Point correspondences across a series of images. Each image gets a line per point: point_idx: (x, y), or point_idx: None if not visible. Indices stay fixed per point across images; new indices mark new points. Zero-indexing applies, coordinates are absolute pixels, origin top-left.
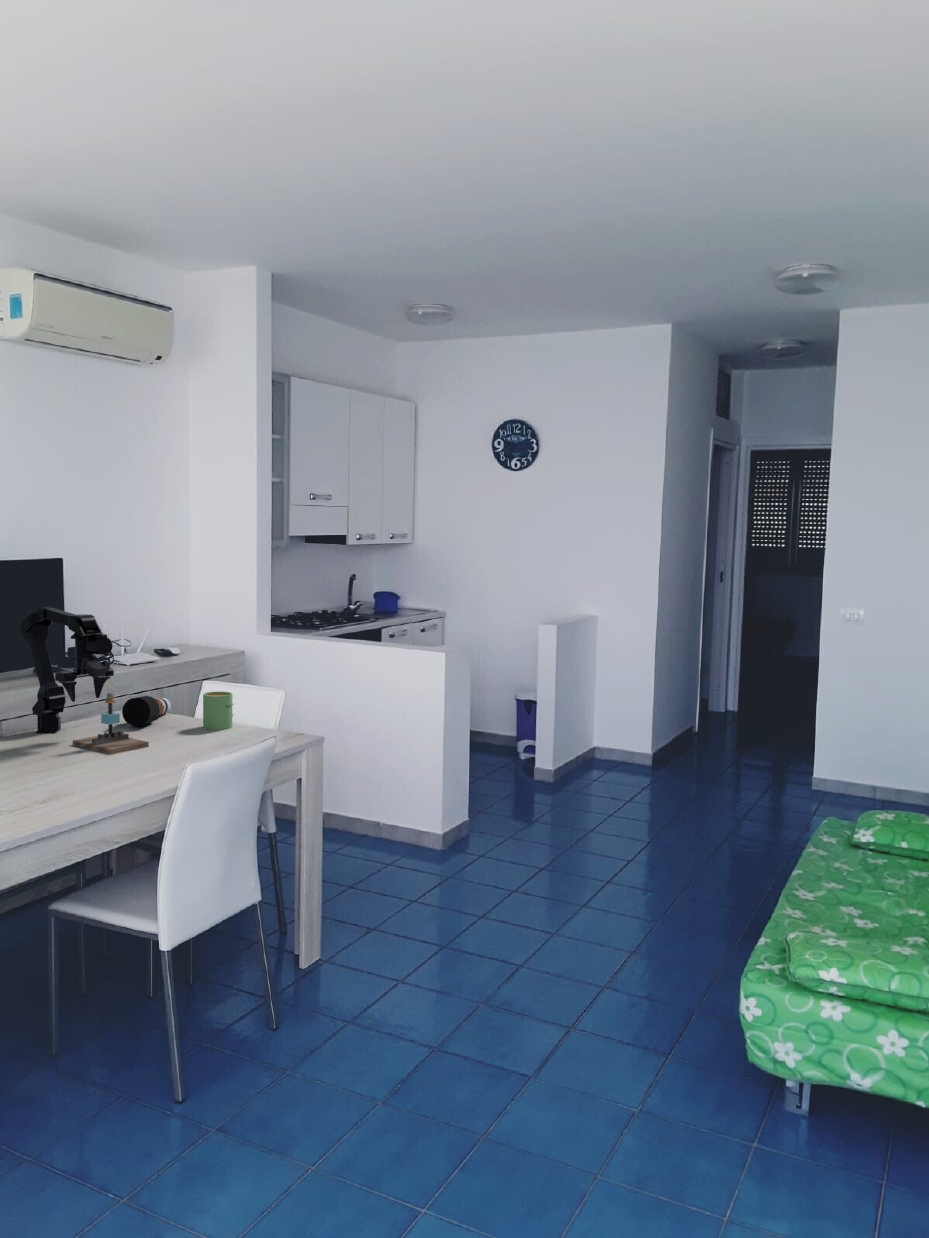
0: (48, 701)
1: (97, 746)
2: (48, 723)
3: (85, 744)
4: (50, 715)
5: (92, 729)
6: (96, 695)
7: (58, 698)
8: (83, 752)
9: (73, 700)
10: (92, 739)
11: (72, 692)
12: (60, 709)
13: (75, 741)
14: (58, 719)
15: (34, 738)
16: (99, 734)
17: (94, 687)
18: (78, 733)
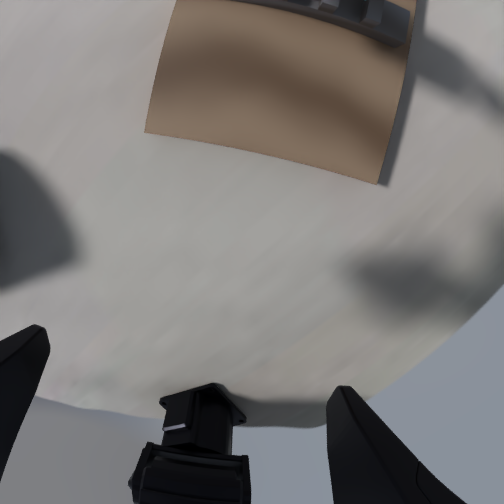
0: (241, 497)
1: (415, 5)
2: (220, 424)
3: (400, 82)
4: (211, 446)
5: (87, 318)
6: (39, 361)
7: (186, 496)
8: (449, 51)
9: (356, 396)
10: (404, 41)
11: (417, 461)
12: (152, 454)
13: (382, 160)
14: (185, 420)
15: (316, 379)
16: (377, 13)
17: (11, 444)
18: (164, 318)
